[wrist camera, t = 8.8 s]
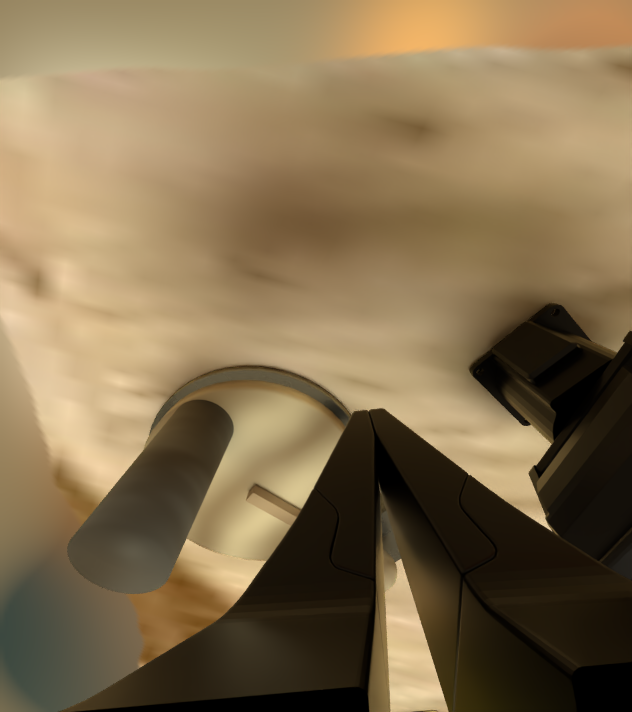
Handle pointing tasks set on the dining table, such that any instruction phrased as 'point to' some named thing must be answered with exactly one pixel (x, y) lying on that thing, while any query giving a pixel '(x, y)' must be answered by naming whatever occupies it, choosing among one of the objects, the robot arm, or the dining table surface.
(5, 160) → the dining table surface
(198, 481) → the disc
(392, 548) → the base
